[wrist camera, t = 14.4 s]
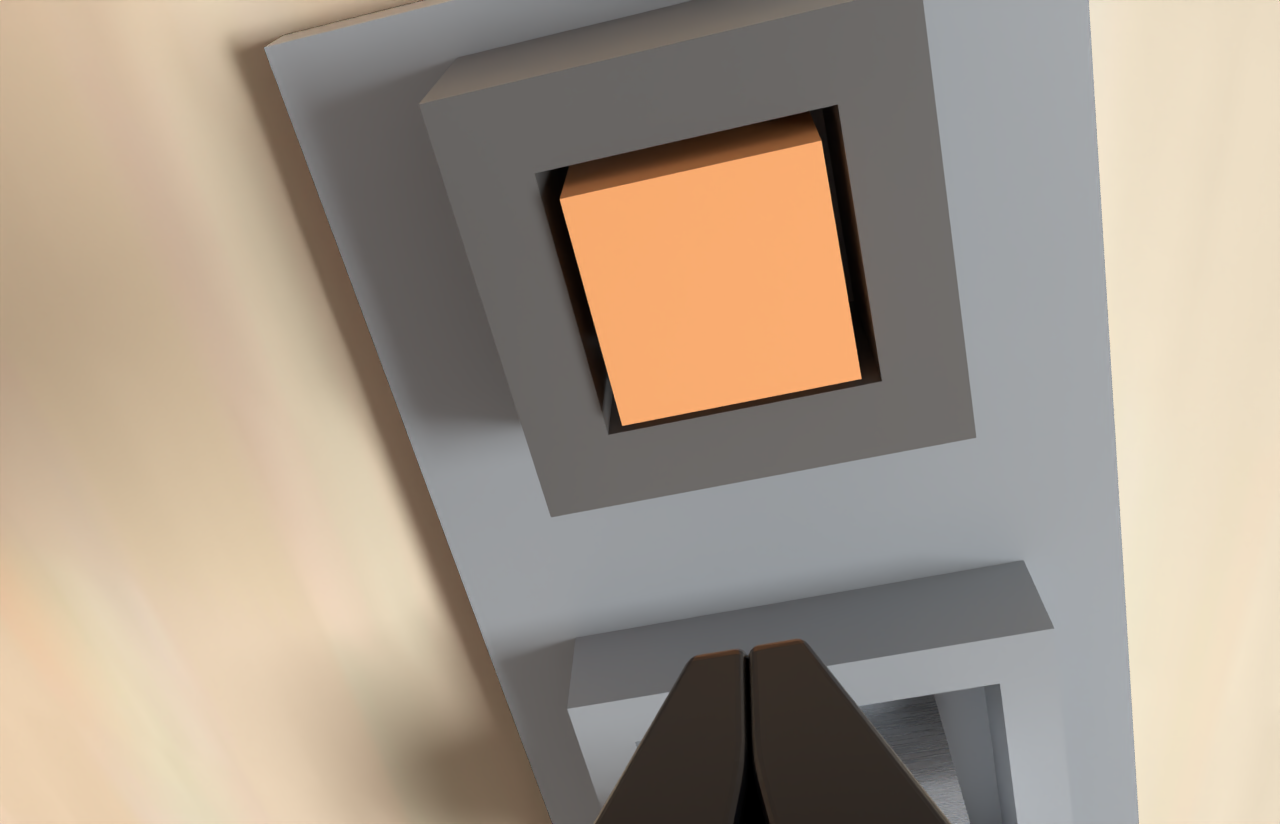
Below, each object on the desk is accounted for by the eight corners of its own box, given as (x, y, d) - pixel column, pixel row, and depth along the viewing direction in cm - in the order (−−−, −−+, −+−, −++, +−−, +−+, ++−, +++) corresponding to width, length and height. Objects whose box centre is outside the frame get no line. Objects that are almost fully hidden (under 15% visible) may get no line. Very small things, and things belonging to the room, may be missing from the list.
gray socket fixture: (1133, 944, 28) (1199, 1112, 24) (636, 1009, 29) (631, 1176, 26) (1057, -159, 17) (1158, -146, 14) (283, 35, 19) (190, 91, 15)
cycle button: (835, 296, 19) (861, 378, 16) (629, 338, 19) (622, 425, 17) (800, 87, 17) (821, 141, 15) (577, 139, 18) (560, 198, 15)
